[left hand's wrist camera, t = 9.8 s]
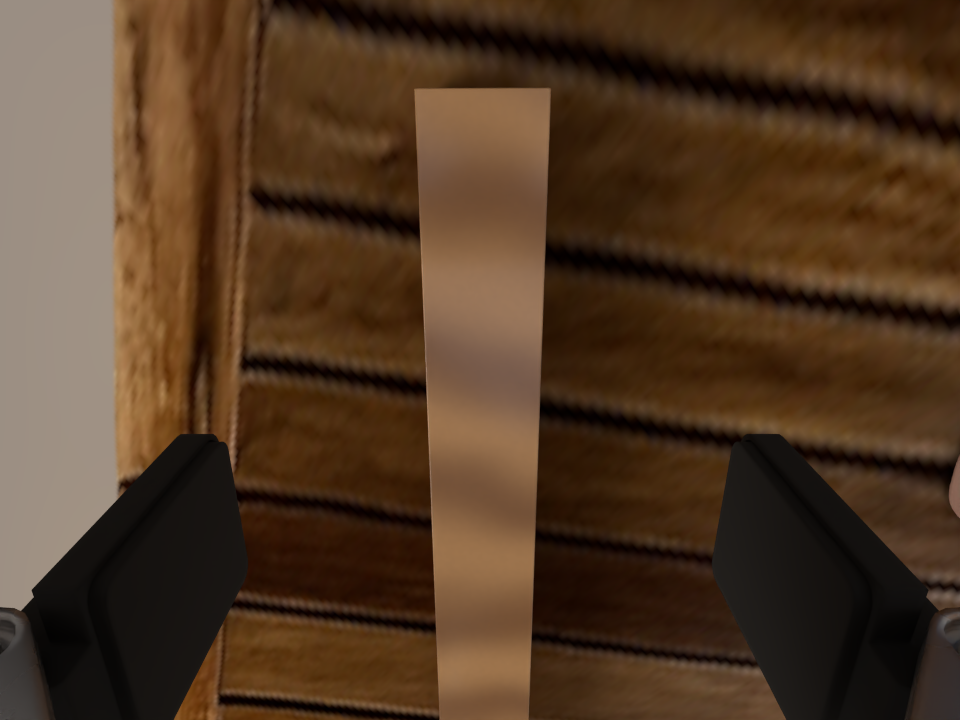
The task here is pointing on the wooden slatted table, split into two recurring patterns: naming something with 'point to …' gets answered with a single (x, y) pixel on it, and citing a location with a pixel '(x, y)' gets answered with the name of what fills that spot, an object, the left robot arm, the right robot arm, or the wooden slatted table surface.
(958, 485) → the anatomical model
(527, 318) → the bar
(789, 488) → the left robot arm
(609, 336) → the wooden slatted table surface
